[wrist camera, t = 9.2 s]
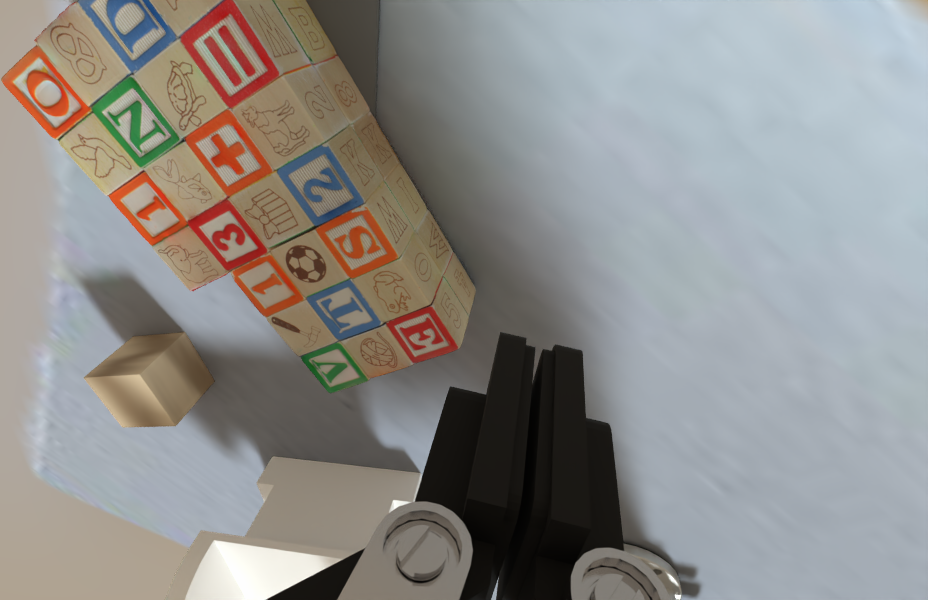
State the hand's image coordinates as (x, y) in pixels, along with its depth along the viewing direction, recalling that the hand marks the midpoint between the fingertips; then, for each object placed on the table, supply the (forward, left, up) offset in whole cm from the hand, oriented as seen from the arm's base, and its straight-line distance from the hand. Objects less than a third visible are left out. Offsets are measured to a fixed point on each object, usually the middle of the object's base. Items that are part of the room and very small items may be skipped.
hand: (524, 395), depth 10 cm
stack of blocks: (+8, +1, -15) cm, 17 cm away
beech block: (+25, +22, -19) cm, 39 cm away
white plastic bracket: (+10, +34, -19) cm, 40 cm away
